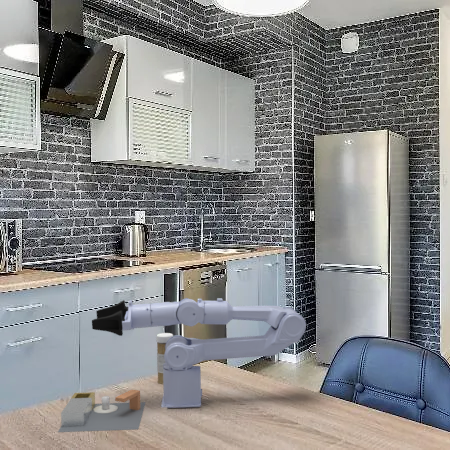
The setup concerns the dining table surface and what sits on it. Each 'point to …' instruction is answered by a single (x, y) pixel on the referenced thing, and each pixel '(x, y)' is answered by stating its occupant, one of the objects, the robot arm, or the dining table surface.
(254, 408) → the dining table surface
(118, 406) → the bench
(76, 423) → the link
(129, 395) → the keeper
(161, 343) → the sprinkles bottle
